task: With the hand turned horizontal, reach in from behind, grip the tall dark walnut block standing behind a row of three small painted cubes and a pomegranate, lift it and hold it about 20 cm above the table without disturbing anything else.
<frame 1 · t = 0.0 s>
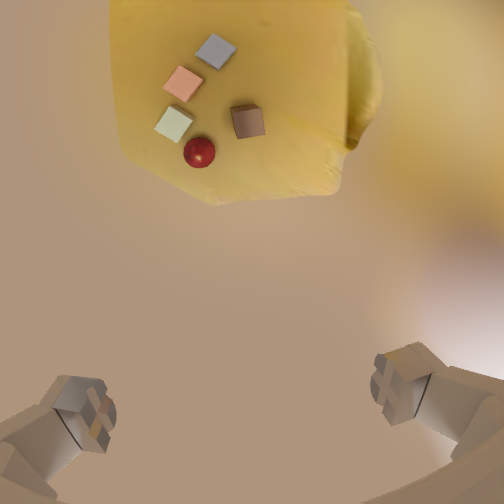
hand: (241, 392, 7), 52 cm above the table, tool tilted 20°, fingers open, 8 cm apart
cube sage: (177, 121, 49), on the table
block walnut: (244, 116, 50), on the table
cube slate: (216, 54, 43), on the table
cube terracotta: (185, 83, 45), on the table
pomegranate: (200, 148, 53), on the table
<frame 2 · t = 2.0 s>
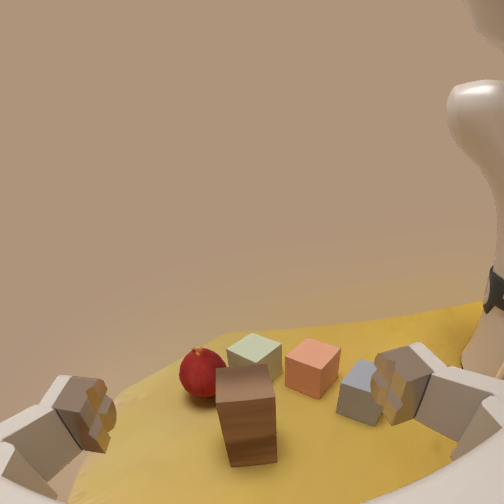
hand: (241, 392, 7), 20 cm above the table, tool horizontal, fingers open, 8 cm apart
cube sage: (256, 375, 37), on the table
block walnut: (251, 448, 24), on the table
cube slate: (363, 406, 28), on the table
cube terracotta: (311, 382, 34), on the table
pomegranate: (208, 396, 33), on the table
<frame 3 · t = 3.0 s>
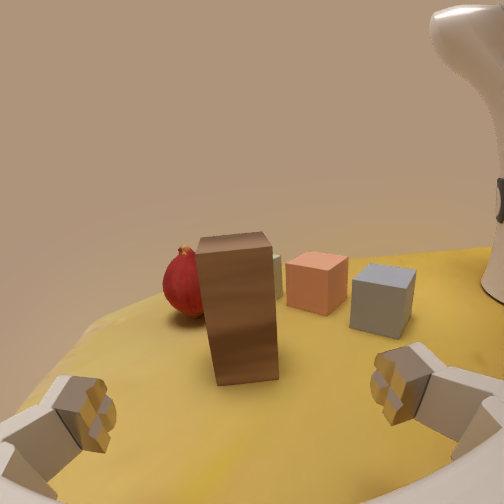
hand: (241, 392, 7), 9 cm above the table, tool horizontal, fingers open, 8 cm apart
cube sage: (253, 298, 34), on the table
block walnut: (245, 365, 22), on the table
cube slate: (381, 322, 25), on the table
cube terracotta: (317, 302, 31), on the table
pomegranate: (196, 318, 30), on the table
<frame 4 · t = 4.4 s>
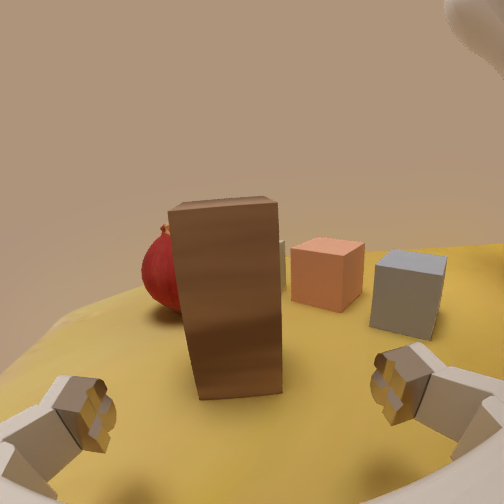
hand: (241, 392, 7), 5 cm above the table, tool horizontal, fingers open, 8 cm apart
block walnut: (238, 373, 16), on the table
cube slate: (406, 320, 20), on the table
cube terracotta: (328, 297, 26), on the table
pomegranate: (182, 313, 25), on the table
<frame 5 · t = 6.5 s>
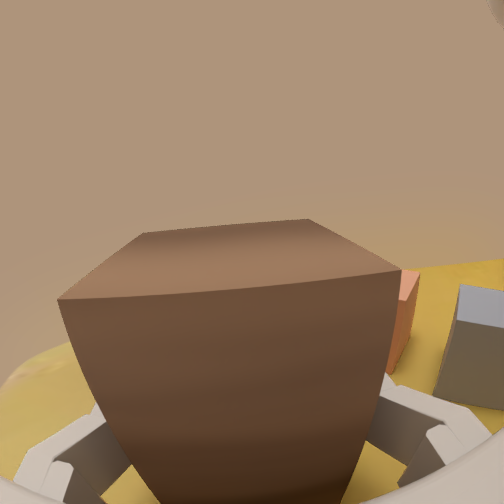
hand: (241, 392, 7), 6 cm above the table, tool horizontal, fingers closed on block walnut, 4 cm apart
block walnut: (255, 497, 8), on the table, touching gripper
cube slate: (472, 379, 12), on the table
cube terracotta: (368, 345, 18), on the table
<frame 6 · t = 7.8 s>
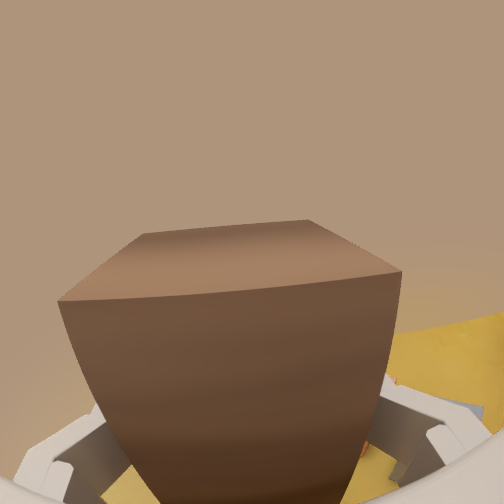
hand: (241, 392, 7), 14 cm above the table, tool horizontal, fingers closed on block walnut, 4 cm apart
block walnut: (255, 497, 8), point 8 cm above the table, touching gripper
cube slate: (426, 463, 14), on the table
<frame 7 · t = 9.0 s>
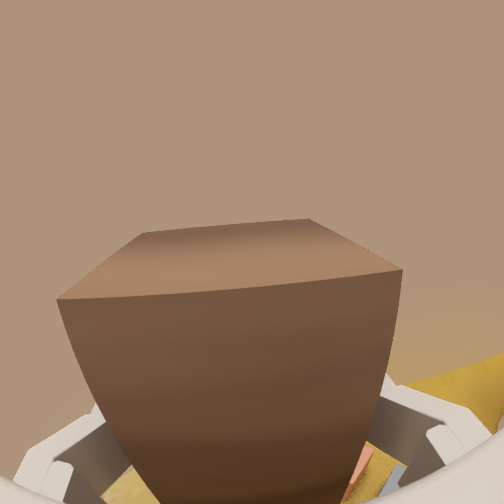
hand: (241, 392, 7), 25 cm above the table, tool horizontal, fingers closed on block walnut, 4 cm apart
block walnut: (255, 497, 8), point 19 cm above the table, touching gripper
cube terracotta: (335, 479, 23), on the table
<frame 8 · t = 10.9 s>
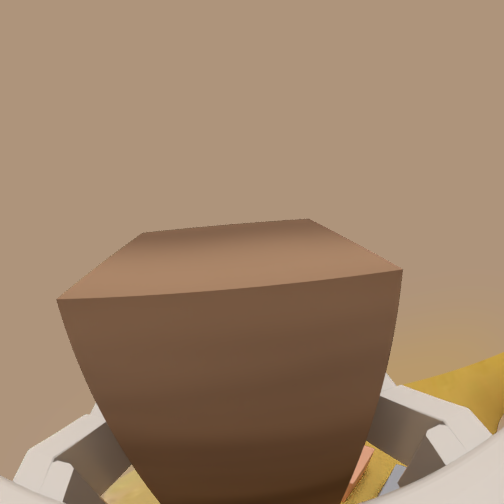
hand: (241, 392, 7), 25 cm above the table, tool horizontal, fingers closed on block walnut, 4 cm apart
block walnut: (255, 497, 8), point 19 cm above the table, touching gripper
cube terracotta: (335, 479, 23), on the table
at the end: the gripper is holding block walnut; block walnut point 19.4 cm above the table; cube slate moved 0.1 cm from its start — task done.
